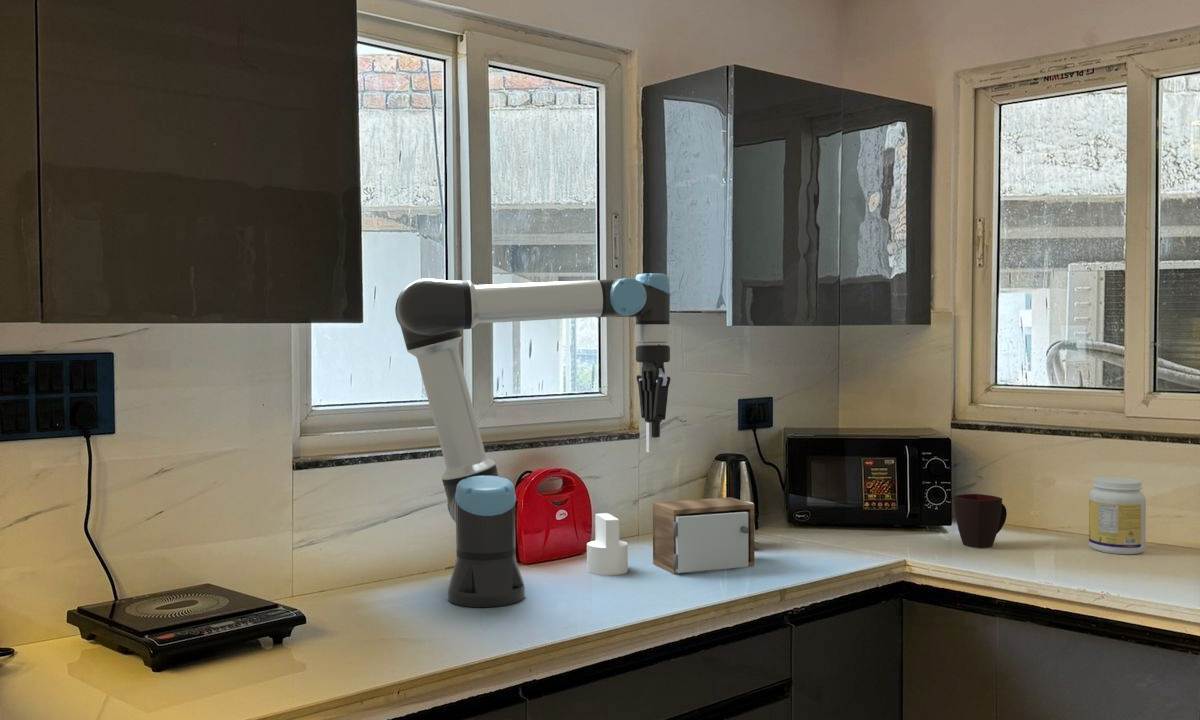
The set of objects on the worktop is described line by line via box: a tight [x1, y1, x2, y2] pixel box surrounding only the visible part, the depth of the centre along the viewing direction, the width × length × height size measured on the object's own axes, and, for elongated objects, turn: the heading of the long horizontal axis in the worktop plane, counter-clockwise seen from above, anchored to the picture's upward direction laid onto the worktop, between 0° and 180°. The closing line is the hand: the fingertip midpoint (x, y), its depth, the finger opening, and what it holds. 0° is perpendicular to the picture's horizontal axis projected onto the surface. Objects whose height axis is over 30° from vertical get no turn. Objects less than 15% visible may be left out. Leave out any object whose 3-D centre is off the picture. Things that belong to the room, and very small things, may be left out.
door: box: [673, 512, 749, 574], centre depth 219 cm, size 18×3×12 cm, turn 110°
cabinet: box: [652, 497, 756, 575], centre depth 227 cm, size 20×11×14 cm, turn 111°
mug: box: [953, 493, 1008, 549], centre depth 248 cm, size 10×14×12 cm
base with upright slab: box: [586, 512, 629, 576], centre depth 222 cm, size 9×9×12 cm
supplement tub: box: [1088, 476, 1147, 555], centre depth 241 cm, size 12×12×17 cm
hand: (653, 451), depth 220 cm, fingers closed
